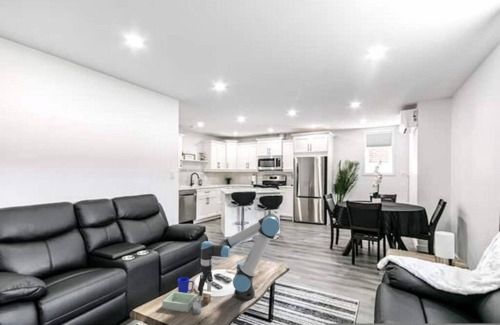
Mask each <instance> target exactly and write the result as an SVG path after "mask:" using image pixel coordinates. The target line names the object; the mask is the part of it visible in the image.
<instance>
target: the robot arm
mask: <svg viewBox="0 0 500 325" xmlns="http://www.w3.org/2000/svg"><path fill="white" fill-rule="evenodd" d="M280 228H281V224H280V220H279V217H278V216H277V215H275V214H273V213H269V214H266V215H265V216H263V217H261V218H260V219H258V221H257V222H256V223H254V224H252V225H250V226H249V227H246V228H245V229H242V230H241V231H239V232H237V233H235V234H233V235H231V236H229V237H228V238H225V239H223V240H221V241H220V243H219V244H213V241H209V240H204V241H203V242H201V247H200V249H201V250H200V252H201V253H200V271H201V272H202V273H201V274H200V276H199V281H198V286H197V292H198V300H200V301H203V294H204V287H205V283H206V292H212V283H213V282H214V281H213V279H214V278H213V272H212V267H213V266H212V265H213V264H212V263H213V257H218V258H228V257H229V256H230V253H231V249H232V248H234V247H236V246H238V245H240V244H242V243H245V242H246V241H247V240H250V239H252V238H254V237H256V236H257V237H256V239H255V240H254V243H253V245H252V247H251V249H250V251H249V252H248V254H247V255H246V256H247V257H246V259H245V260H244V261H242V262H238V263H237V264H236V272H235V275H234V277H233V279H232V285H233V288H234V291H233V296H234V298H236V299H237V300H240V301H250V300H252V299H253V298H255V297H256V296H255V294H256V291H255V288H254V285H253V279H254V278H255V275H256V273H255V270H256V268H257V266H258V265H259V263H260V261H261V259H262V257H263V255H264V253H265V251H266V249H267V247H268V245H269V243H270V241H273V240H274V238H275V237H276V234H278V233H279V231H280ZM206 281H207V282H206Z"/></svg>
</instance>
